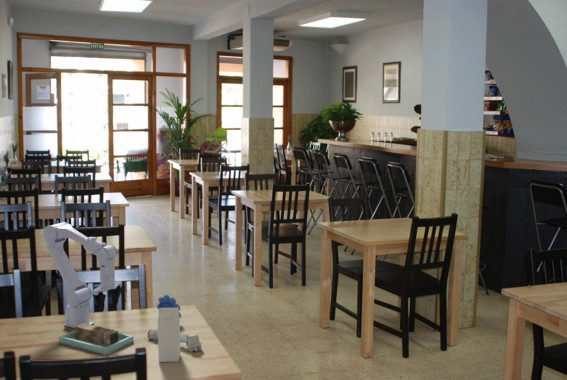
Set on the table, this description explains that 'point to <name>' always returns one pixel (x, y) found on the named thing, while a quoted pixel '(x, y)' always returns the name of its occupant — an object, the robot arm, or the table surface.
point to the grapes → (167, 303)
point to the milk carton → (169, 334)
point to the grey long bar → (181, 340)
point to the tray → (71, 341)
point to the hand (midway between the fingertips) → (108, 307)
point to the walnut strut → (96, 334)
